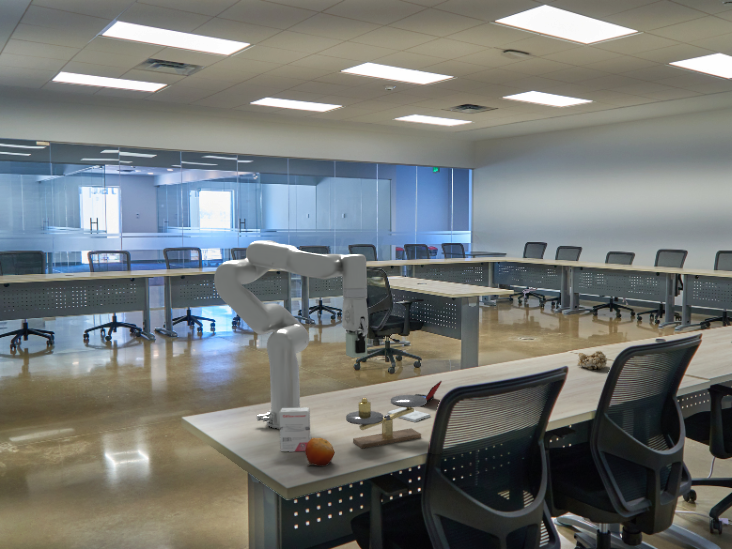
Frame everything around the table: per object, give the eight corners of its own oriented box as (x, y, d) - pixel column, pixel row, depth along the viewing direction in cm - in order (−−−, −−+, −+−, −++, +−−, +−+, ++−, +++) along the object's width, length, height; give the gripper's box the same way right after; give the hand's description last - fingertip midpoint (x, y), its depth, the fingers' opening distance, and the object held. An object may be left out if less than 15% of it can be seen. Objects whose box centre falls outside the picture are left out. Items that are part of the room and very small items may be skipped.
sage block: (352, 357, 187) (352, 335, 186) (346, 355, 191) (345, 333, 191) (367, 356, 189) (366, 333, 188) (360, 353, 193) (359, 331, 193)
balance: (356, 453, 172) (355, 405, 171) (340, 441, 182) (339, 395, 181) (433, 438, 183) (433, 393, 182) (415, 428, 193) (414, 385, 192)
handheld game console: (415, 396, 232) (415, 377, 231) (442, 399, 227) (442, 380, 226) (403, 405, 220) (403, 385, 220) (432, 408, 216) (431, 388, 215)
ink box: (311, 445, 179) (310, 406, 178) (310, 451, 174) (309, 411, 173) (281, 446, 178) (281, 406, 178) (279, 452, 174) (279, 411, 173)
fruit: (298, 454, 168) (313, 429, 168) (323, 467, 169) (337, 442, 169) (297, 465, 160) (313, 439, 160) (323, 478, 161) (338, 453, 160)
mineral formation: (606, 365, 279) (613, 370, 264) (576, 369, 282) (581, 375, 267) (603, 348, 279) (610, 352, 265) (573, 352, 282) (578, 357, 267)
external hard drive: (403, 411, 214) (430, 418, 205) (387, 416, 208) (414, 423, 199) (403, 406, 214) (430, 413, 205) (387, 411, 208) (414, 418, 199)
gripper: (333, 292, 195) (334, 348, 196) (355, 296, 179) (357, 357, 181) (354, 291, 198) (355, 346, 199) (378, 295, 183) (379, 354, 184)
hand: (356, 350), depth 190 cm, fingers closed on sage block, 5 cm apart
